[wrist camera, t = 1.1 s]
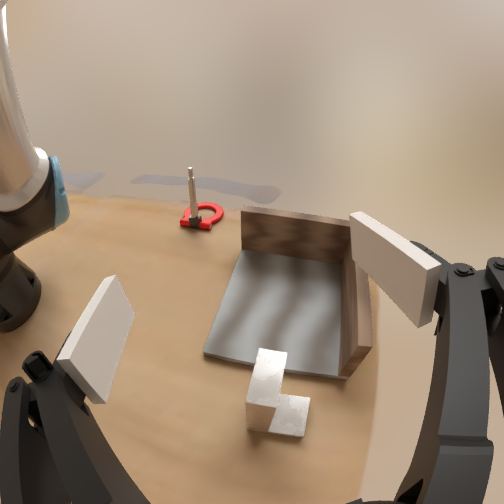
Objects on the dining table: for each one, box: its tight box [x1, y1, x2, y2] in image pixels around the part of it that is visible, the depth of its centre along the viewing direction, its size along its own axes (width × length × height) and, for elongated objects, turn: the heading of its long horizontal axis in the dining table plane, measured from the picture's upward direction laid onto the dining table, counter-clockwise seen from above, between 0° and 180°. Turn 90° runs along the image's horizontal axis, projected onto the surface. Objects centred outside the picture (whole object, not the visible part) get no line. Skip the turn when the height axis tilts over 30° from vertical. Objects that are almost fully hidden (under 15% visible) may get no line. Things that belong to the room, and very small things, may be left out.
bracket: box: [245, 348, 310, 438], centre depth 24 cm, size 6×5×12 cm
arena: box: [203, 206, 372, 380], centre depth 37 cm, size 19×22×9 cm
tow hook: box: [180, 167, 223, 230], centre depth 53 cm, size 8×13×9 cm
